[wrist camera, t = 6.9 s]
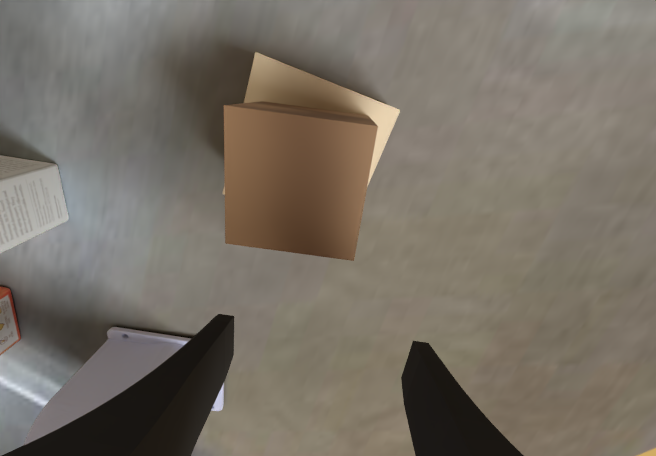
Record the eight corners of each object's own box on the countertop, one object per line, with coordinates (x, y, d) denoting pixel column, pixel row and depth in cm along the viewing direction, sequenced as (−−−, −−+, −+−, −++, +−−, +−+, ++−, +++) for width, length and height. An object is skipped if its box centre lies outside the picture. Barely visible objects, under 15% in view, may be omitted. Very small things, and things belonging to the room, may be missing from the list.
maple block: (244, 175, 20) (222, 193, 16) (274, 60, 17) (255, 52, 14) (345, 211, 21) (345, 237, 17) (388, 106, 18) (400, 110, 14)
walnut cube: (259, 201, 17) (225, 243, 12) (262, 101, 15) (223, 105, 10) (351, 214, 17) (353, 260, 12) (368, 115, 15) (377, 126, 10)
